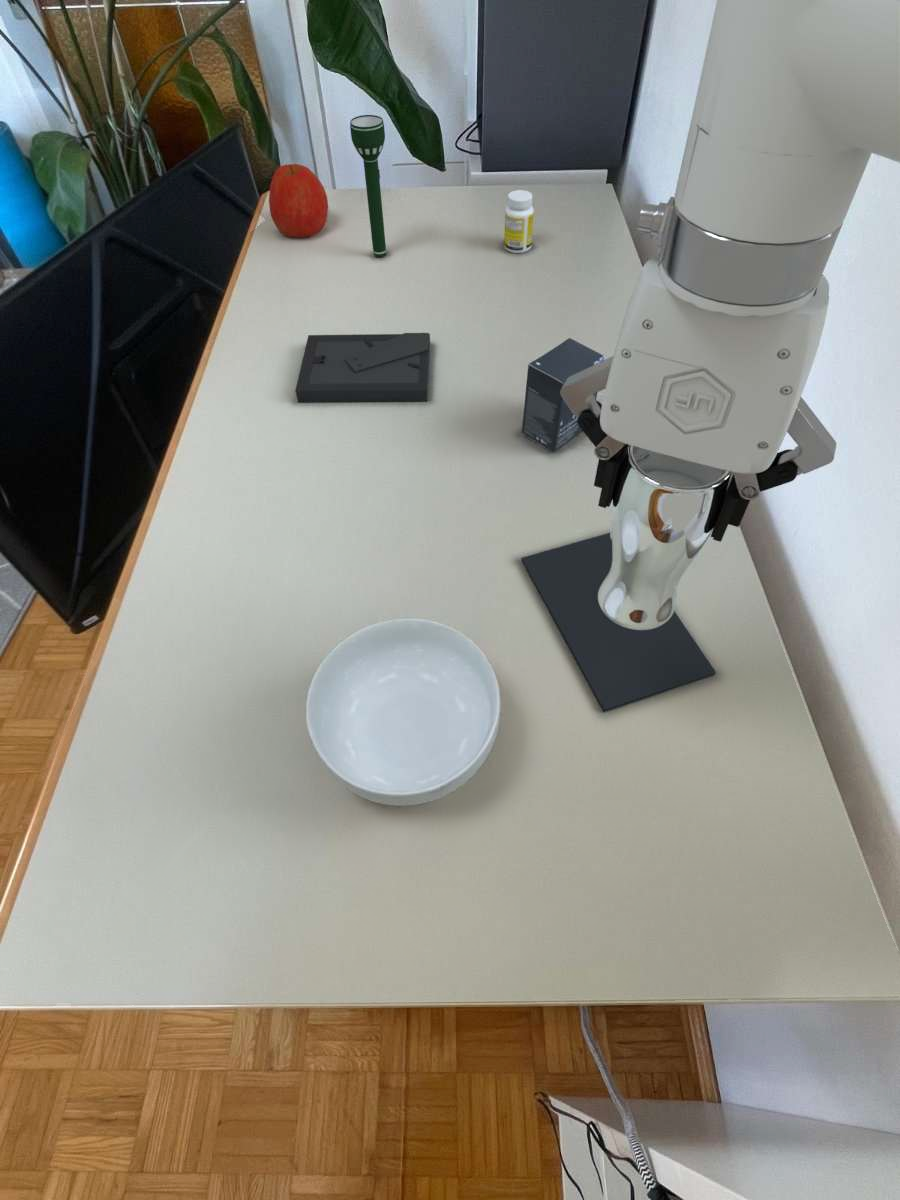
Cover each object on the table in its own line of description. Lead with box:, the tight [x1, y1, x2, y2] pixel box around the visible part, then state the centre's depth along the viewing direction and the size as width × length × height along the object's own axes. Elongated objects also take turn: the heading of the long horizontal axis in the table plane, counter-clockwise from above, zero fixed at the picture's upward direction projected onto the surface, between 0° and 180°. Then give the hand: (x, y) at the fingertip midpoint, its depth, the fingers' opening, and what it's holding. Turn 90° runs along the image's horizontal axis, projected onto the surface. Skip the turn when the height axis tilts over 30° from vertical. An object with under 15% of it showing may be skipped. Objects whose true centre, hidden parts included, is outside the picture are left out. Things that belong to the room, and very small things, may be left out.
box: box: [521, 337, 605, 454], centre depth 86 cm, size 8×6×11 cm
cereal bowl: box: [305, 617, 501, 807], centre depth 62 cm, size 17×17×7 cm
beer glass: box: [598, 445, 733, 630], centre depth 50 cm, size 7×7×15 cm
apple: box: [268, 163, 329, 238], centre depth 122 cm, size 10×10×10 cm
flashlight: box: [349, 114, 387, 259], centre depth 112 cm, size 5×5×20 cm
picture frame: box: [295, 332, 431, 403], centre depth 98 cm, size 13×2×18 cm
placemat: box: [521, 532, 717, 713], centre depth 72 cm, size 20×12×1 cm, turn 19°
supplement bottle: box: [503, 189, 535, 254], centre depth 117 cm, size 5×5×8 cm
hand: (663, 508), depth 47 cm, fingers closed on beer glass, 7 cm apart
